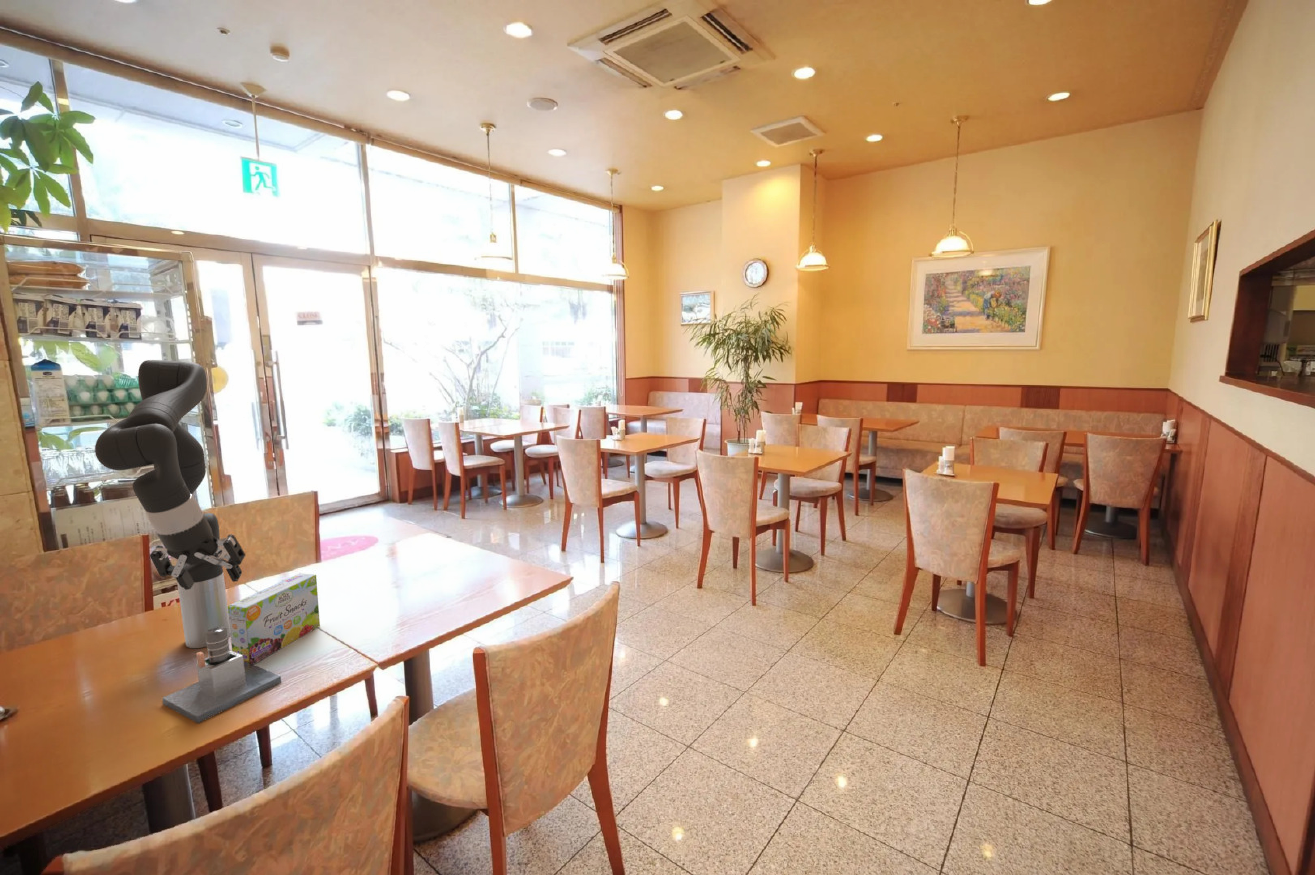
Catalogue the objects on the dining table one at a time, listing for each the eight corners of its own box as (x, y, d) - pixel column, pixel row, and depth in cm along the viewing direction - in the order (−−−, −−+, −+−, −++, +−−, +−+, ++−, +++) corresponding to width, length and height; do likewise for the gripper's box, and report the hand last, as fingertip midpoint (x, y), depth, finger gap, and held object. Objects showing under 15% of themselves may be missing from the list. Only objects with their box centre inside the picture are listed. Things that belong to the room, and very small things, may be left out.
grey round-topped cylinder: (208, 686, 122) (201, 632, 120) (227, 678, 125) (221, 625, 124) (218, 691, 121) (210, 636, 119) (237, 682, 124) (230, 628, 122)
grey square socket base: (163, 704, 119) (156, 655, 118) (246, 667, 133) (240, 623, 132) (198, 723, 113) (191, 672, 111) (281, 682, 127) (276, 636, 126)
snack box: (252, 668, 133) (245, 607, 131) (232, 665, 134) (225, 605, 132) (322, 626, 154) (316, 573, 152) (304, 624, 155) (299, 571, 153)
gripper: (228, 503, 112) (258, 564, 121) (145, 514, 109) (182, 576, 118) (213, 526, 106) (245, 589, 114) (124, 539, 103) (165, 603, 111)
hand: (213, 582), depth 116 cm, fingers open, 8 cm apart
